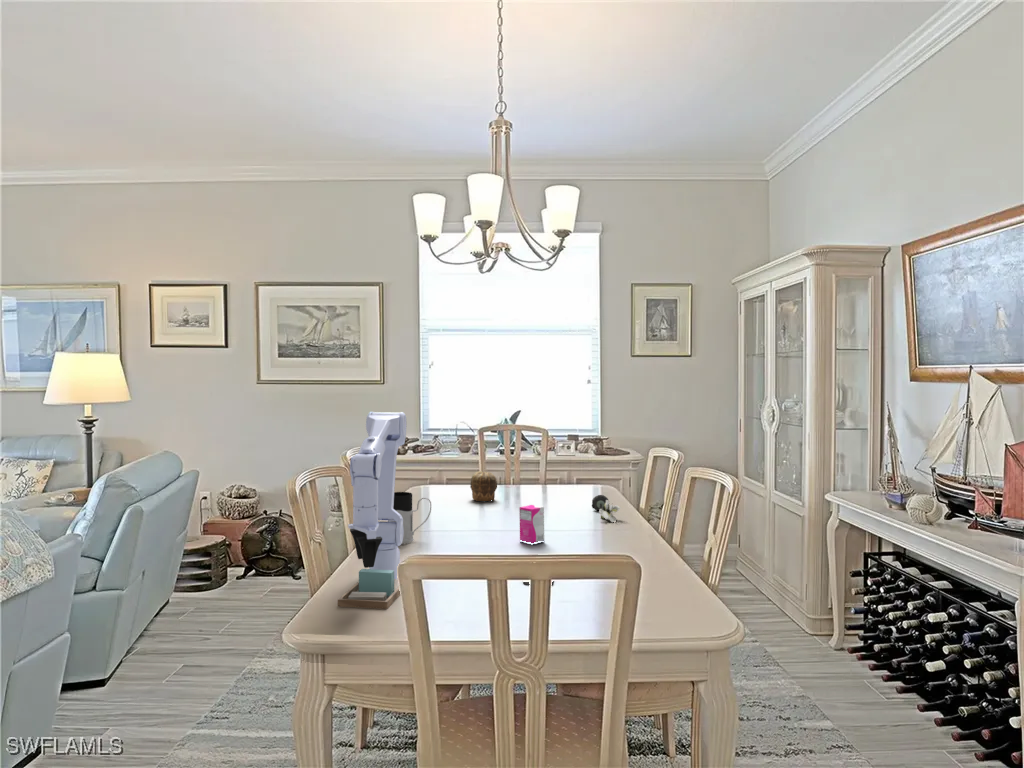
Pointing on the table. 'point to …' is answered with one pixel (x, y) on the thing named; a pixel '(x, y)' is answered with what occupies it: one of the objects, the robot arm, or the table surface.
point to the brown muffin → (483, 486)
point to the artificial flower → (604, 507)
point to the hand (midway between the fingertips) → (365, 562)
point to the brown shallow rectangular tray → (347, 602)
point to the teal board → (376, 581)
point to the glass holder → (406, 513)
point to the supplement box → (532, 523)
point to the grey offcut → (368, 596)
